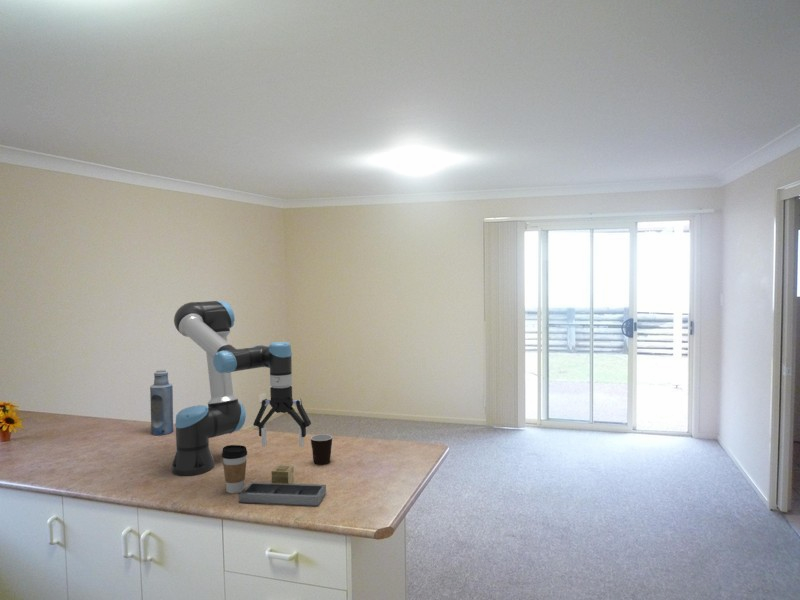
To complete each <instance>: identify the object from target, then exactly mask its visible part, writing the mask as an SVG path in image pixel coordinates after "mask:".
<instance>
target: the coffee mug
mask: <svg viewBox="0 0 800 600" xmlns="http://www.w3.org/2000/svg"><path fill="white" fill-rule="evenodd" d="M310 443H311V444H310V445H311V452H312V460H313V461H312V462H313V464H314V465H316V466H325V465H328V464H330V463H331V458H332V456H331V455H332V447H333V446H332V445H333V436H332V435H330V434H328V433H326V434H325V433H322V434H315V435H312V436H311V437H310Z"/></svg>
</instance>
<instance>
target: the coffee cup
mask: <svg viewBox="0 0 800 600" xmlns="http://www.w3.org/2000/svg"><path fill="white" fill-rule="evenodd" d="M247 455H248V450H247V447H246V446H245V445H240V444H238V445H237V444H229V445H226V446H223V447H222V452H221V457H222V459H223V462H222V464H223V465H222V466H223V473H224V481H225V489H226V493H228V494H238V493H240V492H242V491H243V490H244V489H245V485H246V484H245V482H246V471H247V470H246V469H247Z"/></svg>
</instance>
